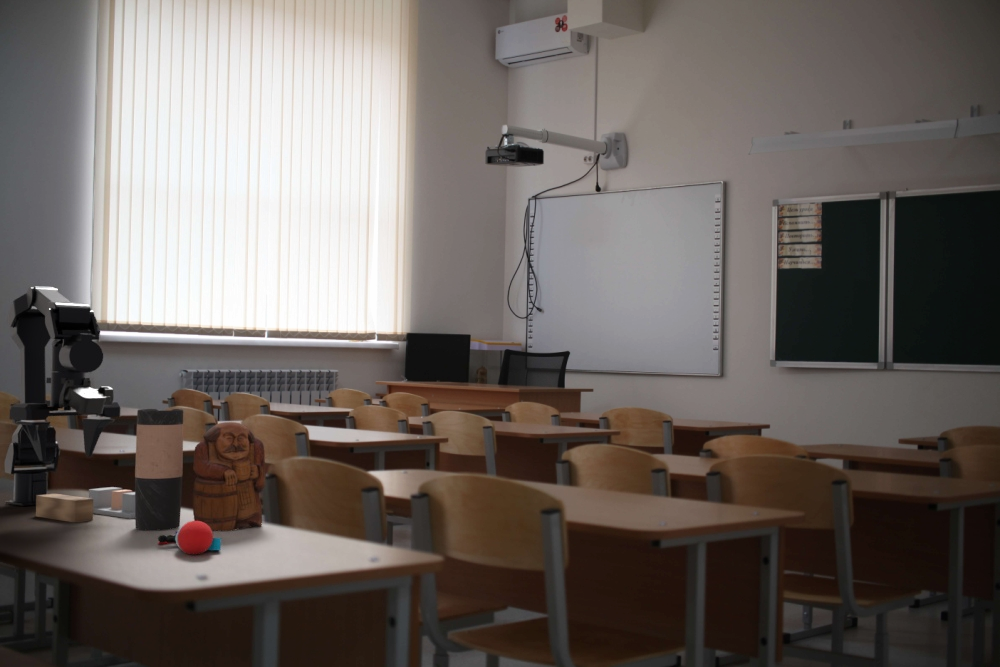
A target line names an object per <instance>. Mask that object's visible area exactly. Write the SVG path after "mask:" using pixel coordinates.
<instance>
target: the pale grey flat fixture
mask: <svg viewBox="0 0 1000 667" xmlns="http://www.w3.org/2000/svg"><path fill="white" fill-rule="evenodd" d="M88 498H92V499H93V514H96V515H101V516H102V515H103V516H110V517H116V518H125V519H135V491H133V490H131V489H123V487H116V486H115V487H114V486H110V487H99V488H90V489H88Z"/></svg>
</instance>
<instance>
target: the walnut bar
mask: <svg viewBox="0 0 1000 667" xmlns="http://www.w3.org/2000/svg"><path fill="white" fill-rule="evenodd" d="M35 517H38V518H44V519H50V520H57V521H65V522H70V523H81V522H88V521H93V520H94V513H93V499H92V498H89V497H83V496H76V495H68V494H60V493H47V494H45V495H36V505H35Z"/></svg>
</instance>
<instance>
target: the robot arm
mask: <svg viewBox="0 0 1000 667" xmlns="http://www.w3.org/2000/svg"><path fill="white" fill-rule="evenodd" d="M10 305H11V306H10V308H9V310H8V314H7V325H8V327H9V328H10V337H11V339H12V340H13V342H14V343H15V344H16V346H17V348H18V349H19V359H20V360H19V368H20V369H19V371H20V373H19V376H20V377H19V378H20V382H19V383H20V385H19V386H20V402H19V403H13V404H12V406H11V408H10V409H9V420H15V421H16V425H17V427H16V429H15V430H14V432H13V434H12V436H11V442H10V443H9V446H8V448H7V452H6V456H5V458H4V473H6V474H9V475H13V490H12V492H13V494H12V500H11V499H10V500H5V504H9V505H15V506H21V507H23V506H26V507H27V506H34V505H35V506H36V495H45V494H48V473H49V472H50V473H51V472H52V473H56V472H57V471H58V464H59V456H60V453H61V448H60V447H59V442H58V441H57V436H56V435H57V430H56V429H55V427H54V426H51V421H48V420H47V418H48V417H65V416H68V417H69V416H87V418H82V419H81V420H82V432H83V446H84V448H83V449H84V453H85V457H86V458H91V457H92V456H93V454H94V451H95V449H96V446H97V444H98V440H99V438H100V436H101V434H102V432H103V430H104V429H105V428H106V426H107V425H109V424H110V423H113V422H114V421H115V419H114V418H120V417H121V415H122V412H121V411H122V410H121V409H122V408H121V406H120V404H119V402H117V401H114V399H115V398H114V389H113V388H112V387H111V386H100V387H99V388H93V387H92V385H91V384H92V383H91V380H90V377H86V374H87V373H92V372H94V371H96V370H98V369H99V368H100V366H101V365H102V363H103V360H104V353H103V349H102V348H101V346H100V345H99V344H98V343H97V342H96V341H99V340H100V334H101V329H100V326H99V323H98V321H97V318H96V315H95V312H94V310H92V308H91V306H90V304H88V303H84V302H74V301H73V302H72V301H70V300H69V299H68V298H67V297H65V296H64V295H62V294H61V293H60V292H59V289H58V288H55V286H54V287H53V286H41V285H33V286H29V288H28V289H27V292H26V293H24V294H22V295H20V296H19V297H18V298H16V299H14V300H13V301H12V303H11V304H10ZM50 340H52V343H51V360H50V363H51V366H50V367H51V368H50V377H47V376H46V347H47V345H48V344H49V342H50ZM46 384H50V391H49V392H50V393H49V394H50V396H49V397H50V398H49V399H47V398H46V397H47V391H46V390H47V389H46V386H47V385H46ZM28 466H29V467H28ZM30 466H31V467H30ZM32 466H33V467H32ZM34 466H37V467H34Z"/></svg>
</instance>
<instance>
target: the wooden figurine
mask: <svg viewBox="0 0 1000 667" xmlns="http://www.w3.org/2000/svg"><path fill="white" fill-rule="evenodd" d="M202 438H203V439H202V440H201V441H200V442H199V443H198V444H197V445H195V448H194V453H193V454H194V455H193V466H192V470H193V471H194V474H195V475H196V476H197V477H195V479H194V482H193V490H192V492H193V493H192V513H193V519H194V520H193V521H201V522H204V523H206V524H207V525H208V526H209V527H210V528H211V530H212V532H231V530H232V531H235V529H237V530H243V529H251V527H260V526H261V525H263V517H262V516H263V514H262V513H263V512H262V510H263V509H262V501H261V499H260V498H261V496H260V493H261V492H263V490H264V489H265V487H266V469H265V466H266V462H265V461H266V460H265V458H266V457H265V446H264V442H263V441H262V440H261V439H260V438H257V437H255V434H253V432H252V431H251V429H250V428H249V427H248V426H246V425H244V424H242V423H240V422H234V421H226V422H225V421H224V422H220V423H216V424H214V425H213V426H212V427H210V428H209V429H208V431H206V432H205V433H204V435H203V437H202ZM261 523H262V524H261Z"/></svg>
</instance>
